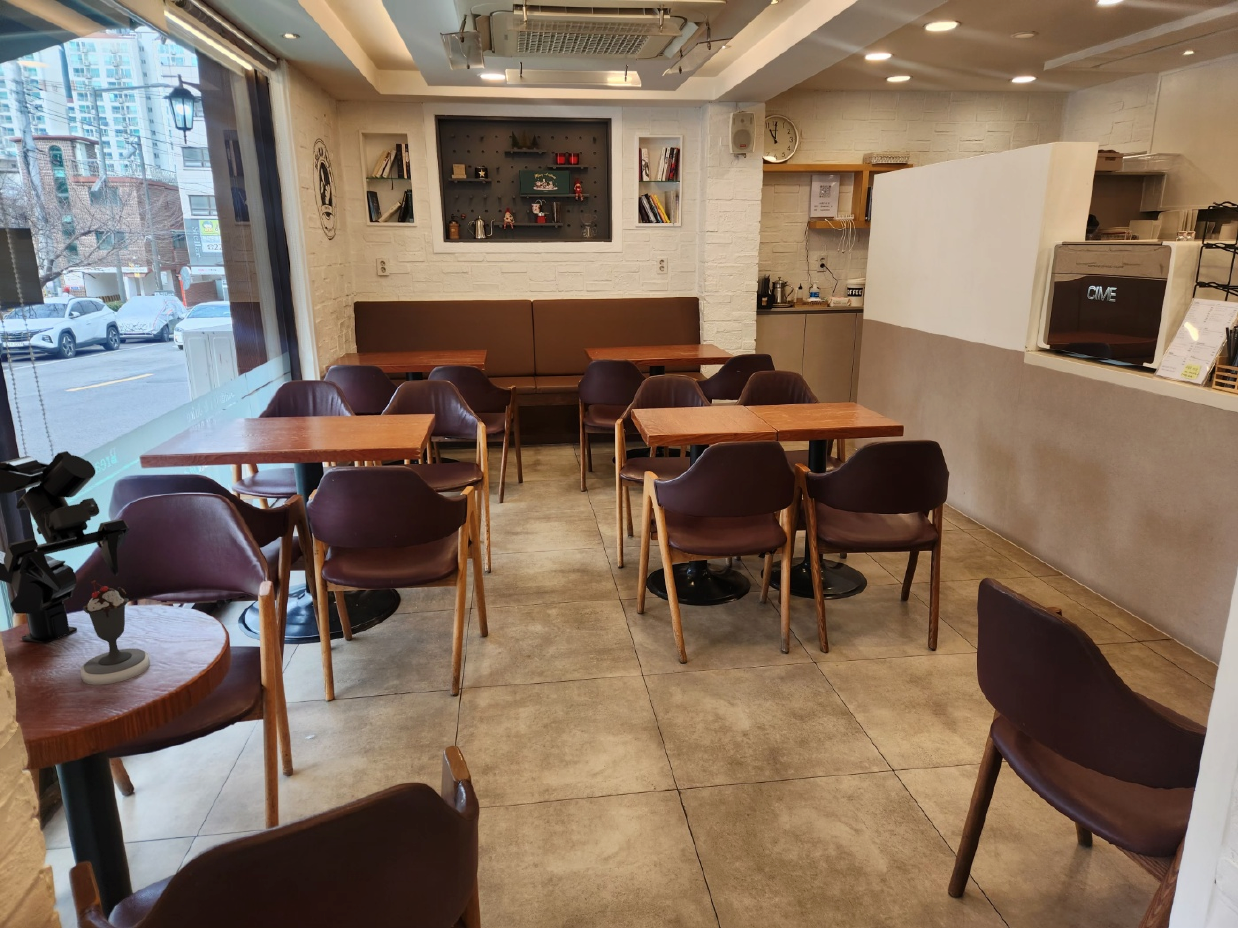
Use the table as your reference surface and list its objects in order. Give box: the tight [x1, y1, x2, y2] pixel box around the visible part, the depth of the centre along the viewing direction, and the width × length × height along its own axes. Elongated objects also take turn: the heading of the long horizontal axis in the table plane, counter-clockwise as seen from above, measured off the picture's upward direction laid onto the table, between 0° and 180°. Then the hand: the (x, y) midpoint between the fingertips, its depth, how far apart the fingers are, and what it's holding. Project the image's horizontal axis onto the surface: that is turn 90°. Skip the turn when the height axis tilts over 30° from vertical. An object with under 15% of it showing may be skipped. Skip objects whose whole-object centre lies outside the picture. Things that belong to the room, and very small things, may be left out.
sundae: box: [82, 580, 132, 665], centre depth 134 cm, size 7×7×15 cm
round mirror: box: [80, 648, 151, 686], centre depth 135 cm, size 10×10×2 cm
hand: (89, 581), depth 140 cm, fingers open, 9 cm apart
